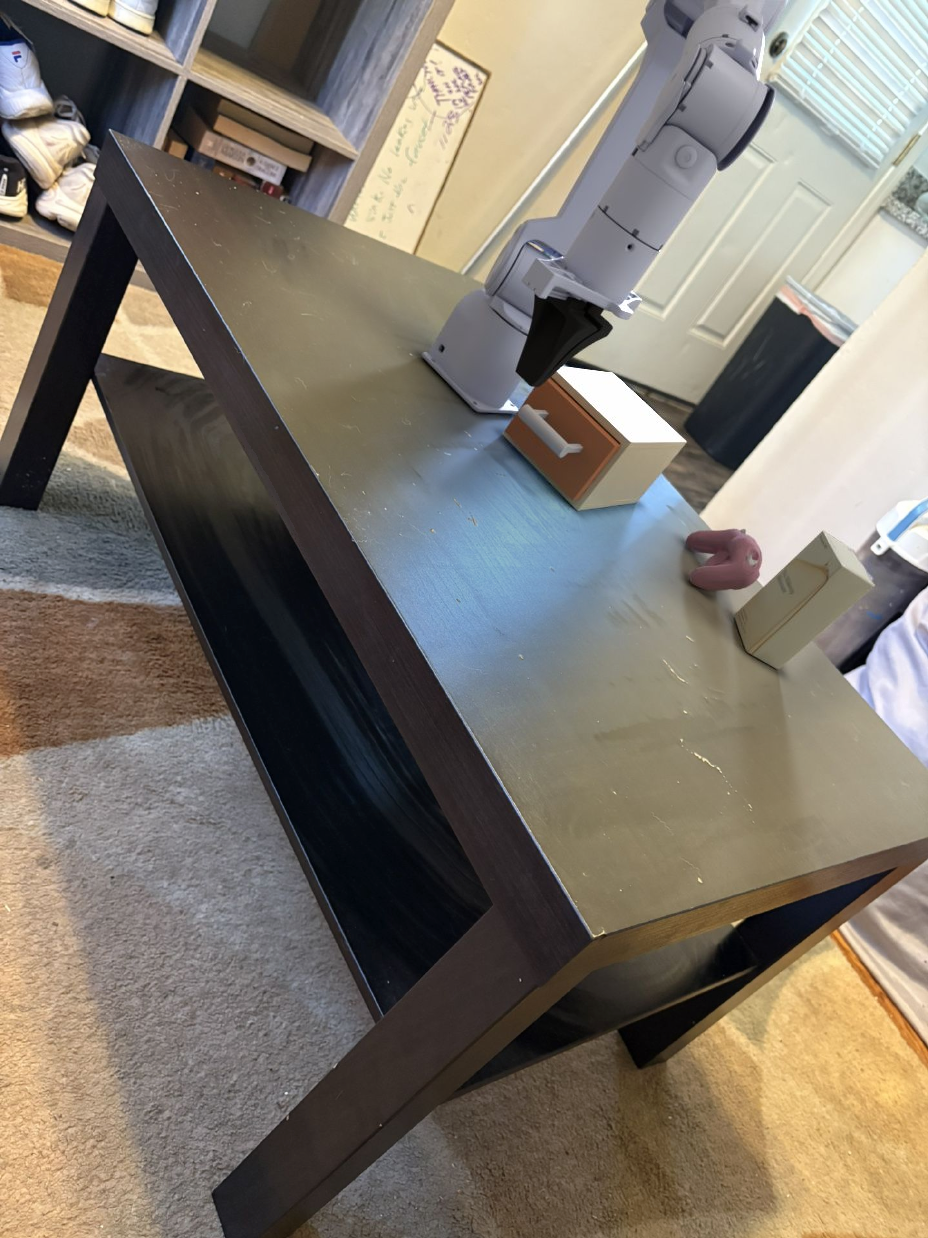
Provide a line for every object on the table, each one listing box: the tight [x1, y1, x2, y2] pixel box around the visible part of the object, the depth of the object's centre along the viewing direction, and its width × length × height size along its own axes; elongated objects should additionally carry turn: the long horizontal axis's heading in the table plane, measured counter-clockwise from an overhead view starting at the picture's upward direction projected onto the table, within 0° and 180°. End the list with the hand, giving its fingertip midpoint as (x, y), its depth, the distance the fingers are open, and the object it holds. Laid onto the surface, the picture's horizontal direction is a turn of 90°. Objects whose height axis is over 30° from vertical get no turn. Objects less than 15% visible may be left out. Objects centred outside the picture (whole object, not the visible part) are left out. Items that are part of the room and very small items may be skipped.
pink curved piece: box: [685, 528, 763, 591], centre depth 91 cm, size 10×5×7 cm, turn 168°
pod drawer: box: [504, 378, 621, 500], centre depth 88 cm, size 17×10×7 cm, turn 137°
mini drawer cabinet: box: [502, 365, 688, 512], centre depth 91 cm, size 14×12×9 cm
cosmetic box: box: [733, 530, 876, 670], centre depth 83 cm, size 6×4×12 cm
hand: (526, 379), depth 72 cm, fingers closed
